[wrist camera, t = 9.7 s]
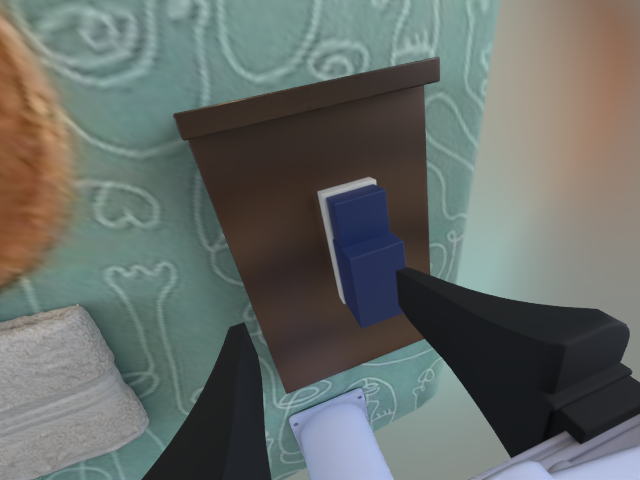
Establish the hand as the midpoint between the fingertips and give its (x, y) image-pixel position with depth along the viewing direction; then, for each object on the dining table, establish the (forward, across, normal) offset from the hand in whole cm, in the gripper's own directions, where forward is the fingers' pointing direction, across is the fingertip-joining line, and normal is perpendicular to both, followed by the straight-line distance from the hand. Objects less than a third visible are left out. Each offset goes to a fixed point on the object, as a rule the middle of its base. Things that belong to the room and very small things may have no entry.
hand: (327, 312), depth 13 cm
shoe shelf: (+9, -3, +2) cm, 10 cm away
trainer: (+7, -4, +1) cm, 8 cm away
